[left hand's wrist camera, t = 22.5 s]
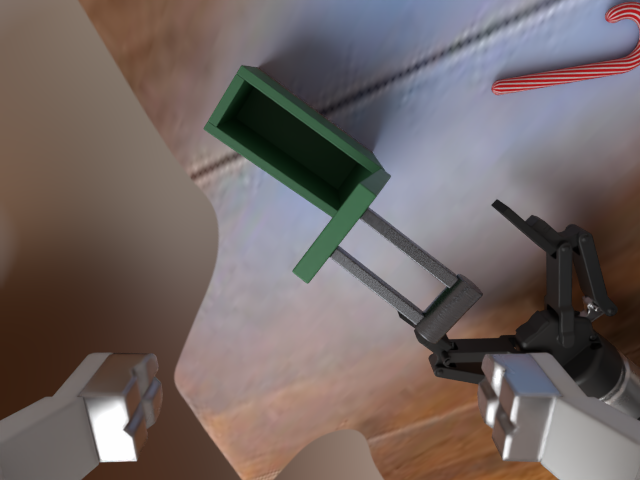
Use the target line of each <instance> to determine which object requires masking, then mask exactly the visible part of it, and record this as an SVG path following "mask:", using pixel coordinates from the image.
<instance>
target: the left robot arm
mask: <svg viewBox="0 0 640 480" xmlns="http://www.w3.org/2000/svg"><path fill="white" fill-rule="evenodd" d="M158 368H159V367H158V362H157V358H156V356H155V355H154V354H143V353H92V354H89V355H88V356H87V357H86V358H85V359H84V361H83V362H82V363H81V364H80V365H79V366H78V368H77V369H76V370H75V371H74V372H73V373H72V375H71V376H70V377H69V378H68V379H67V381H66V382H65V383H64V384H63V385H62V386H61V388H60V389H59V390H58V391H57V392H56V393H55V395H54V396H53V397H45V398H43V399H41V400H39V401H37V402H35V403H33V404H32V405H30V406H28V407H26V408H24V409H22V410H20V411H18V412H16V413H14V414H12V415H11V416H9V417H7V418H5V419H3V420H1V421H0V480H81V479H82V478H83V477H84V476H86V475H87V474H88V473H89V472H90V471H91V470H93V469H94V468H95V467H96V466H97V465H98V464H99V462H114V461H137V459H138V457H139V455H140V453H141V451H142V449H143V447H144V445H145V443H146V441H147V439H148V434H147V428H149V427H150V426H151V425H153V424H154V423H155V422H156V420H157V418H158V416H159V413H160V409H161V404H162V386H161V383H160V381H159V380H158V379H157V378H156V377H155V374H156V372H157V370H158ZM481 368H482V370H483V372H484V374H485V377H484V378H483V379H482V380H481V381H480V382H479V386H478V406H479V409H480V413H481V416H482V418H483V420H484V422H485V423H486V424H487V425H489V426H490V427H491V428H493V434H492V439H493V441H494V443H495V445H496V447H497V449H498V451H499V453H500V455H501V457H502V459H503V461H525V462H541V464H542V465H543V466H544V467H545V468H546V469H548V470H549V471H550V472H551V473H552V474H553V475H555V476H556V477H557V478H558V479H559V480H640V421H639V420H637V419H635V418H633V417H631V416H629V415H627V414H626V413H624V412H622V411H620V410H618V409H616V408H614V407H612V406H610V405H608V404H607V403H605V402H603V401H601V400H599V399H597V398H595V397H587V396H586V395H585V393H584V392H583V391H582V390H581V389H580V388H579V386H578V385H577V384H576V383H575V382H574V380H573V379H572V378H571V377H570V376H569V375H568V373H567V372H566V371H565V370H564V369H563V368H562V366H561V365H560V364H559V363H558V362H557V361H556V359H555V358H554V357H553V356H552V355H551V354H549V353H526V354H485V356H484V358H483V362H482V367H481Z"/></svg>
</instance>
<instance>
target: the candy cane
mask: <svg viewBox="0 0 640 480" xmlns="http://www.w3.org/2000/svg"><path fill="white" fill-rule="evenodd" d="M605 19H606V21H608V22H610V23H616V22H618V21H620V20H623V19H630V20H633V21H634V22H635V23H636V24H637V25H638V28H639V32H640V3H638V2H625V3H621V4H618V5H616V6H614V7H612V8H610V9H609V10H608V11H607V12H606V14H605ZM639 65H640V36H639V41H638V44H637V46H636V47H635V49H634V50H633V51H632V52H631V53H630V54H629V55H628V56H626V57H624V58H620V59H614V60H608V61H603V62H597V63H592V64H586V65H580V66H575V67H569V68H564V69H558V70H552V71H547V72H541V73H536V74H530V75H524V76H519V77H513V78H507V79H502V80H497V81H495V82H494V83H493V85H492V92H493V93H494V94H495V95H502V94H508V93H514V92H519V91H525V90H531V89H536V88H542V87H548V86H554V85H559V84H565V83H571V82H576V81H582V80H588V79H593V78H599V77H605V76H610V75H616V74H621V73H625V72H628V71H630V70H633V69H634V68H636V67H637V66H639Z"/></svg>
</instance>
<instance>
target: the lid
mask: <svg viewBox="0 0 640 480" xmlns="http://www.w3.org/2000/svg"><path fill="white" fill-rule="evenodd" d="M390 177H391V175H389V174H388V173H387V172H385V171H384V170H383V169H380V170H378V171H377V172H375V173H374V174H372V175H371V176H369V177H368V178H366V179H365V180H363V181H362V182H360V183H359V184H358V185H357V186H356V188H355V189H354V190H353V191H352V193H351V194H350V195H349V197H348V198H347V199H346V201H345V202H344V203H343V205H342V206H341V207H340V209H339V210H338V211H337V213H336V214H335V215H334V217H333V218H332V219H331V220H330V222H329V223H328V224H327V226H326V227H325V228H324V230H323V231H322V232H321V234H320V235H319V236H318V238H317V239H316V240H315V242H314V243H313V244H312V246H311V247H310V248H309V249H308V251H307V252H306V253H305V255H304V256H303V257H302V259H301V260H300V261H299V263H298V264H297V265H296V267H295V268H294V269H293V271H292V272H293V273H294V274H296V275H297V276H298V277H299V278H301V279H302V280H303V281H304V282H306V283H307V284H308V283H309V282H310V281H311V280H312V278H313V277H314V276H315V275H316V273H317V272H318V271H319V269H320V268H321V267H322V266H323V264H324V263H325V262H326V260H327V259H328V258H329V257H330V258H331V259H332V260H334V261H335V262H336V263H337V264H339V265H340V266H341V267H343V268H344V269H345V270H346V271H348V272H349V273H350V274H352V275H353V276H354V277H355V278H357V279H358V280H359V281H360V282H362V283H363V284H364V285H366V286H367V287H368V288H369V289H371V290H372V291H373V292H375V293H376V294H377V295H378V296H380V297H381V298H382V299H384V300H385V301H386V302H387V303H389V304H390V305H391V306H392V307H394V308H395V309H396V310H398V311H399V312H400V313H401V314H403V315H404V316H405V317H407V318H408V319H409V320H410V321H412V322H413V323H414V327H415V328H416V330H417V331H418V332H419V334H420V335H421V336H423V337H424V338H425V339H426V340H428V341H429V342H431V343H434V344H435V343H437V342H438V341H439V340H440V339H441V338H442V337H443V336H444V335H445V334H446V333H447V332H448V331H449V330H450V329H451V328H452V327H453V326H454V324H455V323H456V322H457V321H458V320H459V319H460V318H461V317H462V316H463V315H464V314H465V313H466V312H467V311H468V310H469V309H470V308H471V307H472V306H473V305H474V304H475V303H476V301H477V300H478V299H479V298H480V297H481V296H482V295H483V293H482V292H481V290H480V289H479V288H478V287H477V286H476V285H475V284H474V283H473V282H471V281H470V280H469V279H468V278H466V277H465V276H463V275H461V274H457V275H456V274H454V273H453V272H452V271H451V270H449V269H448V268H447V267H445V266H444V265H443V264H442V263H440V262H439V261H438V260H436V259H435V258H434V257H432V256H431V255H430V254H429V253H427V252H426V251H425V250H423V249H422V248H421V247H420V246H418V245H417V244H416V243H414V242H413V241H412V240H410V239H409V238H408V237H407V236H405V235H404V234H403V233H401V232H400V231H399V230H398V229H396V228H395V227H394V226H392V225H391V224H390V223H388V222H387V221H386V220H385V219H383V218H382V217H381V216H379V215H378V214H377V213H376V212H374V211H373V210H372V209H370V208H369V206H370V204H371V203H372V202H373V200H374V199H375V198H376V197H377V195H378V194H379V192H380V191H381V190H382V188H383V187H384V186H385V184H386V183H387V182H388V180H389V179H390ZM359 218H360V219H361V220H362V221H363V222H365V223H366V224H367V225H368V226H370V227H371V228H372V229H374V230H375V231H376V232H377V233H379V234H380V235H381V236H383V237H384V238H385V239H387V240H388V241H389V242H390V243H392V244H393V245H394V246H396V247H397V248H398V249H399V250H401V251H402V252H403V253H405V254H406V255H407V256H408V257H410V258H411V259H412V260H414V261H415V262H416V263H417V264H419V265H420V266H421V267H423V268H424V269H425V270H427V271H428V272H429V273H430V274H432V275H433V276H434V277H436V278H437V279H438V280H439V281H441V282H442V283H443V284H445V285H446V288H445V289H444V290H443V291H442V292H441V293H440V294H439V295H438V296H437V297H436V298H435V300H434V301H433V302H432V303H431V304H430V305H429V306H428V307H427V308H426V309H425V311H424V312H423V311H422V310H420V309H419V308H418V307H417V306H415V305H414V304H413V303H411V302H410V301H409V300H408V299H406V298H405V297H404V296H402V295H401V294H400V293H399V292H397V291H396V290H395V289H393V288H392V287H391V286H390V285H388V284H387V283H386V282H384V281H383V280H382V279H381V278H379V277H378V276H377V275H376V274H374V273H373V272H372V271H370V270H369V269H368V268H367V267H365V266H364V265H363V264H361V263H360V262H359V261H358V260H356V259H355V258H354V257H352V256H351V255H350V254H349V253H347V252H346V251H345V250H343V249H342V248H341V247H340V246H338V245H339V244H340V243H341V241H342V240H343V239H344V237H345V236H346V235H347V234H348V232H349V231H350V230H351V229H352V227H353V226H354V225H355V223H356V222H357V221H358V220H359Z"/></svg>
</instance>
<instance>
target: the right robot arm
mask: <svg viewBox="0 0 640 480" xmlns="http://www.w3.org/2000/svg"><path fill="white" fill-rule="evenodd" d="M492 206H493V207H494V208H495V209H496V210H497V211H499V212H500V213H501V214H502V215H503V216H504V217H505V218H507V219H508V220H509V221H510V222H511V223H512V224H514V225H515V226H516V227H517V228H518V229H519V230H520V231H522V232H523V233H524V234H525V235H526V236H527V237H529V238H530V239H531V240H532V241H533V242H534V243H536V244H537V245H538V246H539V247H541V248H542V249H543V250H544V251H546V268H547V295H546V296H545V297H544V303H545V310H543V311H541V312H539V311H537V312H535V313H534V314H533V315H532V316H531V318H530V319H529V321H528V322H526V323H525V324H523V325H521V326H520V327H519V328H518V329H516V330H515V331H516V332H517V333H516V335H502V336H500V337H499V338H483V339H448V337H447V335H446V334H445V335H444V336H443V337H442V338H441V339H440V340H439V341H438V342H437V343H435V344H434V343H431V342H429V341H428V340H426V339H425V338H424V337H423V336H421V335H420V334H419V332H418V331H417V330H416V328H415V327H414V323H413V322H412V321H410V320H409V319H408V318H407V317H405V316H404V315H403V314H401V313H400V312H399V311H398V313H399V317H400V318H402V319H403V320H404V321H406V322H407V323H408V324H410V325H411V326H412V327H414V328H415V330H414V332H415V335H416V337H417V339H418V341H419V342H420V343H421V344H423V345H424V346H425V347H427V348H428V349H429V350H431V351H432V352H434V353H433V354H431V355H430V356H429V361H430V364H431V367H432V369H433V372H434V374H435V376H437V377H441V378H447V379H452V380H458V381H464V382H469V383H475V384H479V382H480V381H481V380H482V379H483V378H484V377H485V374H484V372H483V370H482V368H481V367H482V362H483V358H484V356H485V354H526V353H549V354H551V355H552V356H553V357H554V358H555V359H556V361H557V362H558V363H559V364H560V365H561V366H562V368H563V369H564V370H565V371H566V372H567V373H568V375H569V376H570V377H571V378H572V379H573V380H574V382H575V383H576V384H577V385H578V386H579V388H580V389H581V390H582V391H583V392H584V393H585V395H586V396H587V397H595V398H597V399H599V400H601V401H603V402H605V403H607V404H608V405H610V406H612V407H614V408H616V409H618V410H620V411H622V412H624V413H626V414H627V415H629V416H631V417H633V418H635V419H637V420H639V421H640V368H639V367H638V366H637V365H636V364H635V363H633V362H632V361H631V360H630V359H629V358H627V357H626V356H625V355H624V354H623V353H621V352H620V351H619V350H617V349H616V348H615V347H614V346H613V345H612V344H611V343H609V342H608V341H607V340H606V339H605V338H603V337H602V336H601V335H600V334H599V333H597V332H596V331H595V330H594V329H593V327H592V323H591V322H593V321H594V320H595V319H597V318H598V317H600V316H601V315H603V314H604V313H605V314H606V315H607V316H613V315H615V314H616V313H617V311H618V309H617V307H616V306H615V304H614V303H613V302H612V301H611V300H610V299H609V297H608V296H607V292H606V288H605V284H604V280H603V276H602V272H601V268H600V264H599V260H598V256H597V252H596V249H595V245H594V241H593V237H592V235H591V234H590V233H589V232H587V231H585V230H583V229H582V228H580V227H578V226H576V225H575V224H571V225H569V226H567V227H566V229H565V231H563V232H559V233H557V232H556V231H555V230H554V229H553V228H551V227H550V226H549V225H548V224H547V223H546V222H545V221H543V220H542V219H540V218H539V217H537V216H534V215H531V216H530V217H529V218H528V219H527V220H526V221H524V220H523V219H522V218H520V217H519V216H518V215H517V214H516V213H515V212H514V211H512V210H511V209H510V208H509V207H508V206H506V205H505V204H503V203H502V202H500V201H499V200H496V201H495V202H494V203H493V204H492ZM572 259H573V262H574V266H575V270H576V273H577V277H578V281H579V284H580V287H581V290H582V292H583V293H584V295H585V296H583V297H582V300H583V305H584V309H583V310H582V311H581V312H579V311H574V309H573V307H572ZM514 347H515V348H516V349H515V348H514Z"/></svg>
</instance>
